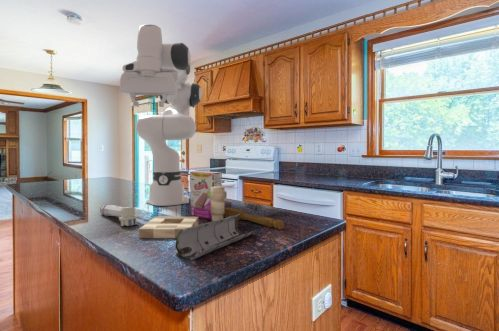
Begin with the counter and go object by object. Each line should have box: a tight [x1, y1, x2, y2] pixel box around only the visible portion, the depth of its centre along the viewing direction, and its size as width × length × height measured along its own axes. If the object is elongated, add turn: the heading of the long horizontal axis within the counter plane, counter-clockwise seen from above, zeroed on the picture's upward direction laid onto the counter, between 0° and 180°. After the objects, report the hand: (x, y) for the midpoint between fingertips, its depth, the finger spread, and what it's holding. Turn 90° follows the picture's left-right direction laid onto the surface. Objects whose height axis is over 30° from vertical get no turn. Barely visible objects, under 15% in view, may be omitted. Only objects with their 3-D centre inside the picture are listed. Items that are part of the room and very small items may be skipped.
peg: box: [211, 186, 226, 222], centre depth 94 cm, size 4×4×13 cm
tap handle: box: [223, 207, 285, 230], centre depth 105 cm, size 3×3×30 cm
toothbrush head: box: [99, 203, 138, 227], centre depth 106 cm, size 5×7×25 cm
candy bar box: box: [189, 170, 223, 221], centre depth 110 cm, size 11×5×16 cm, turn 57°
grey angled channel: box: [174, 214, 256, 261], centre depth 80 cm, size 7×7×25 cm
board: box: [138, 216, 199, 239], centre depth 93 cm, size 15×14×2 cm
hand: (148, 106), depth 111 cm, fingers open, 8 cm apart
